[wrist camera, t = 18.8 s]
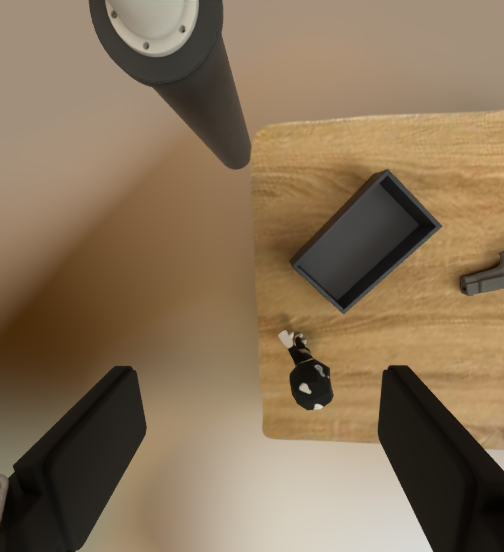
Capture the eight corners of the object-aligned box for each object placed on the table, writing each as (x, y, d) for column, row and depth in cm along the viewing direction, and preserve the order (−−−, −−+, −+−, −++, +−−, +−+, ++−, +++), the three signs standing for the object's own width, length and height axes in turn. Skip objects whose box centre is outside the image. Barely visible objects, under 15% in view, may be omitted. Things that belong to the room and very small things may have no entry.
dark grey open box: (289, 260, 41) (291, 266, 37) (374, 173, 37) (388, 168, 33) (336, 304, 43) (343, 314, 38) (423, 224, 39) (442, 226, 34)
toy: (333, 360, 45) (363, 429, 31) (304, 374, 47) (320, 447, 32) (296, 300, 43) (309, 345, 29) (266, 317, 44) (265, 368, 30)
